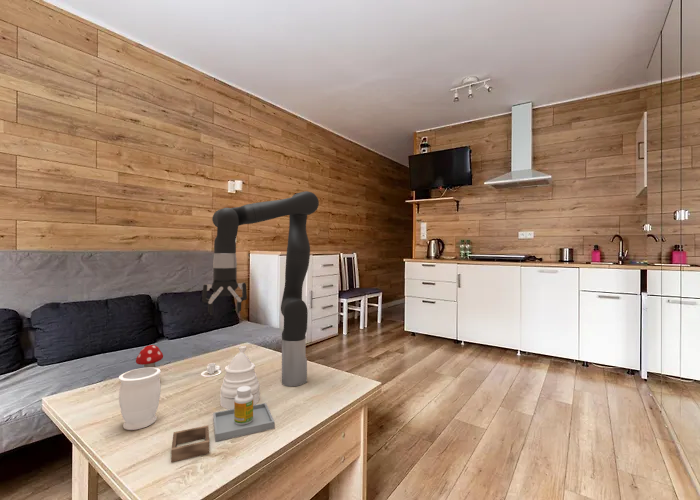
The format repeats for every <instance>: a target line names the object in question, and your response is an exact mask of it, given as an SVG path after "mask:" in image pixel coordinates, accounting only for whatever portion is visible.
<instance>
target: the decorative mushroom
mask: <svg viewBox="0 0 700 500" xmlns="http://www.w3.org/2000/svg"><path fill="white" fill-rule="evenodd" d="M163 358H164V354H163V352H162V351H161V349H160V348H159V346H157V345H155V344H150V345H147V346H144V347H143V348H142V349H141V350H140V352H139V354H138V355H137V357H136V358H135V362H136V365H142V366H143V368H149V367H152V368H156V363H157V362H160V361H161V360H163Z"/></svg>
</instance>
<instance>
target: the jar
mask: <svg viewBox="0 0 700 500" xmlns="http://www.w3.org/2000/svg"><path fill="white" fill-rule="evenodd" d="M161 372H162V371H161V369H160V368H158V367H155V368H152V367H149V368H144V367H141V368H135V369H131V370H129V371H126V372H124V373H122V374H120V375H119V376H118V380H119V382H120V385H119V391H118V403H119V408H120V414H121V417H122V419H123V421H124V422H123V425H122V427H123V429H124V430H128V431H133V430H134V431H136V430H141V429H144V428H146V427H149V426H151V425H153V424H155V422H156V421H157V420H158V419H157V416H156V413H157V411H158V408H159V403H160V397H161V393H162V391H161V380H160V375H161Z"/></svg>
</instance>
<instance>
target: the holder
mask: <svg viewBox="0 0 700 500" xmlns="http://www.w3.org/2000/svg"><path fill="white" fill-rule="evenodd" d="M202 439H204V441H200V442H195V441H198V440H202ZM171 442H172V443H171V449H170V451H171V452H170V454H171V455H170V457H171V458H170V460H171V463H173V462H177V461H182V460H186V459H187V460H188V459H190V458H195V457H199V456H204V455H208V454H210V429H209V424H208V425H203V426H198V427H192V428H188V429H183V430H179V431H173V435H172V441H171ZM188 442H195V443H189V444H185V445H180V446H177V445H179V444H183V443H188Z"/></svg>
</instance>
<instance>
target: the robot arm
mask: <svg viewBox="0 0 700 500" xmlns="http://www.w3.org/2000/svg"><path fill="white" fill-rule="evenodd" d="M319 205H320V201H319V198H318V196H317V195H316V194H315V193H314V192H311V191H306V190H305V191H301V192H297V193H295V194H292V196H291V197H288V198H283V199H276V200H267V201H260V202H253V203H248V204H243V205H241V206H236V207H231V208H230V207H223V208H220V209H218V210H216V211H215V212H214V214H212V217H211V218H212V219H211V220H212V223H213V225H214V226H215V227H217V228H216V237H214V242H213V243H214V244H213V248H214V249H213V253H214V254H213V262H212V264H213V265H212V266H213V267H212V268H213V269H212V272H213V273H212V277H213V278H212V280H213V281H212V284H210V283H209V284H207V283H203V285H202V297H201V301H202V303H206V304H207V312H208V314H210V315H209V316H213V315H214V313H213V312H214V309H213V307H214V304H213V302H214V301H215V300H216V299H217V297H221V298H222V297H230V296H232V297H234V299H236V314H239V313H240V312H241V311H242V302H243V301H246V300H247V299H248V296H247V295H248V294H247V283H246V282H241V283H240V282H239V283H238V280H237V279H238V277H237V271H238V270H237V269H238V268H237V267H238V262H237V236H238V230H239V226H242V225H253V224H256V223H261V222H265V221H271V220H273V219H279V218H281V217H286V216H289V218H288V219H289V227H288V237H287V246H286V257H285V258H286V259H285V273H284V274H285V275H284V276H285V277H284V278H285V279H284V287H283V288H284V289H283V294H282V299H281V303H280V313H281V315H282V316H283V328H282V329H283V330H282V332H281V385H283V386H286V387H297V386H301V385H303V384H306V383H307V382H308V357H307V356H306V347H307V346H306V345H307V344H306V338H307V337H306V334H307V330H308V316H309V315H308V312H309V311H308V306H307V304H306V302H305V301H304V300H303V286H304V281H305V278H306V275H307V273H308V271H309V270H308V269H309V266H310V258H311V246H310V240H309V237H308V233H307V219H308V215H312V214H314V213H316V211H317V210H318V208H319ZM238 287H239V289H240V290H241V297H240V296H239V295H238V294H237V293H236V291H237V289H238ZM211 288H212V290H213V291H214V292H213V294H211V296H210V297H209V298H207V295H208V291H210V289H211Z"/></svg>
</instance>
